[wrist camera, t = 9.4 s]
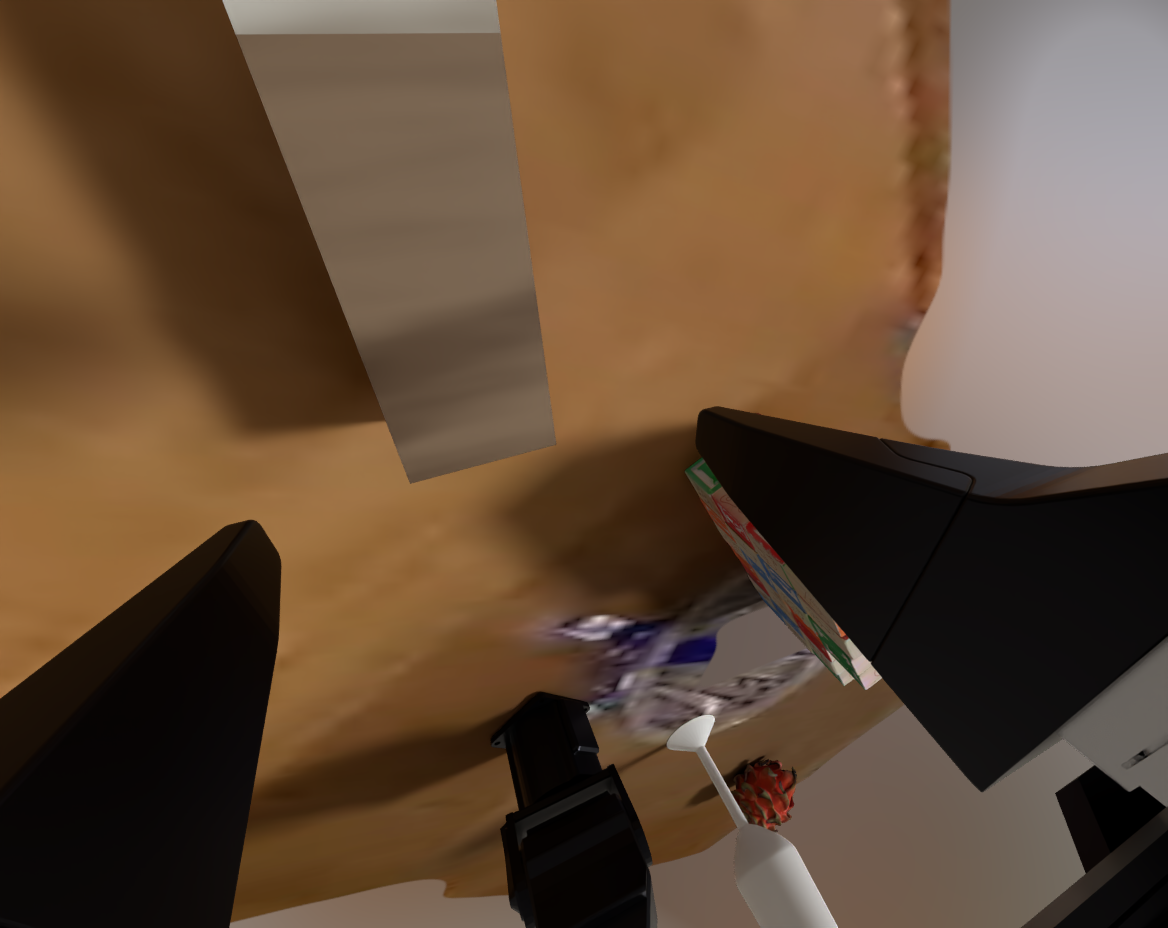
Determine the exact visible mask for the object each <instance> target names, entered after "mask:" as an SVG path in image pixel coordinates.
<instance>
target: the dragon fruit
mask: <svg viewBox="0 0 1168 928" xmlns="http://www.w3.org/2000/svg"><path fill="white" fill-rule="evenodd" d="M765 764H766V765H768V766H763V765H765ZM781 767H782V764H781V763H780V762H779V761H778V760H776V761H771V760H770V761H769V759H768V760H765V761H763V762H758V763H756V764H755V765H754V767H752V766H751V765H749V764H748V765H747V768H746V770H745V771H744V773H745V775H742V774H738V775H736V776H735V777H734V783H735V784H736V790H734V791H731V794H732V795H733V797H734V799H735V801H736V802H737V804H738V806H739V808H740V809H741V811H742V813H743V815H744V816H745V818H746V820H747V822H748V823H749V824H753V825H758V826H761V827H763V828H766V829H768V830H771V831H773V832H778V831H777V830H775V825H779V826H780V825H781V823H785V822H787V821H788V820H790V819H791V818H792V816H791V815H789V814H788V812H789V810H790V809H791V808H793V806H794V802H793V797H792V796H793V794H794V792H795V786H796V783H797V778H796V777H797V775H796V774H795V773H796V771H795V769H794V768H793V767H792V772H791V771H788V770H781Z"/></svg>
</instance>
